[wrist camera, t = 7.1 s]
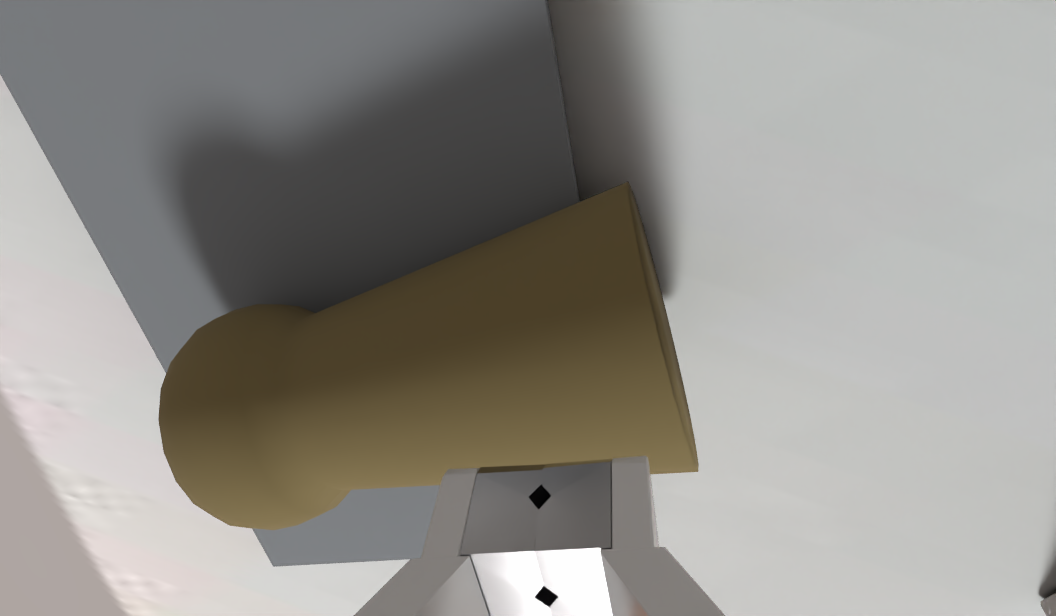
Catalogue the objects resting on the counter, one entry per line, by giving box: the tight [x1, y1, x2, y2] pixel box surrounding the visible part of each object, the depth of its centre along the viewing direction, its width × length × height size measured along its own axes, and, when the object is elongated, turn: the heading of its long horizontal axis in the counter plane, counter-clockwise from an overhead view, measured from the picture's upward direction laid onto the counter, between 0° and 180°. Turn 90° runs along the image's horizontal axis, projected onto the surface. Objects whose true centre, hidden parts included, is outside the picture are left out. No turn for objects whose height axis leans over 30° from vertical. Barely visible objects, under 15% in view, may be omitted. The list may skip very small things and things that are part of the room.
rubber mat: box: [0, 0, 580, 566], centre depth 18 cm, size 12×19×1 cm, turn 11°
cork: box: [159, 182, 698, 530], centre depth 16 cm, size 6×6×11 cm
